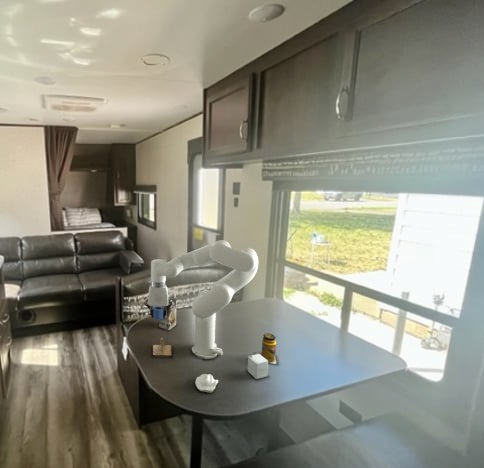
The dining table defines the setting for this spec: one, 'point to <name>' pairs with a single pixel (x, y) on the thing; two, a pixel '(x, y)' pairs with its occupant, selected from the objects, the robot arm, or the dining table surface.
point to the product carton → (257, 366)
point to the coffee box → (169, 317)
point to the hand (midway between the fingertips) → (158, 316)
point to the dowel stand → (161, 348)
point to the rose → (206, 383)
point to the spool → (158, 312)
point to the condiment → (269, 348)
